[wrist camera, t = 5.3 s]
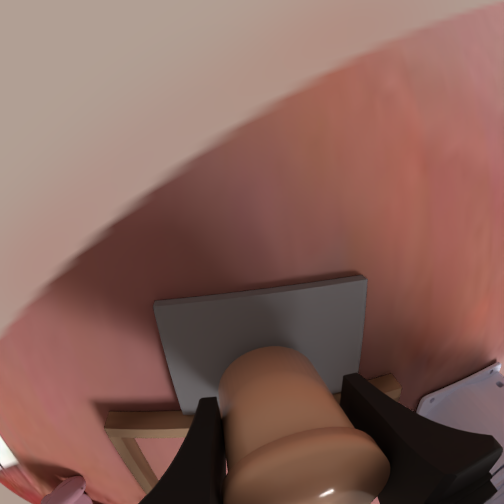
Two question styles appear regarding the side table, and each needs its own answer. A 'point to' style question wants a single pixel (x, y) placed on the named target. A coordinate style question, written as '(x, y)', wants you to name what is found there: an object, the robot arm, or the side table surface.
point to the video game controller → (68, 492)
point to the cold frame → (178, 430)
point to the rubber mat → (262, 332)
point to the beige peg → (292, 436)
